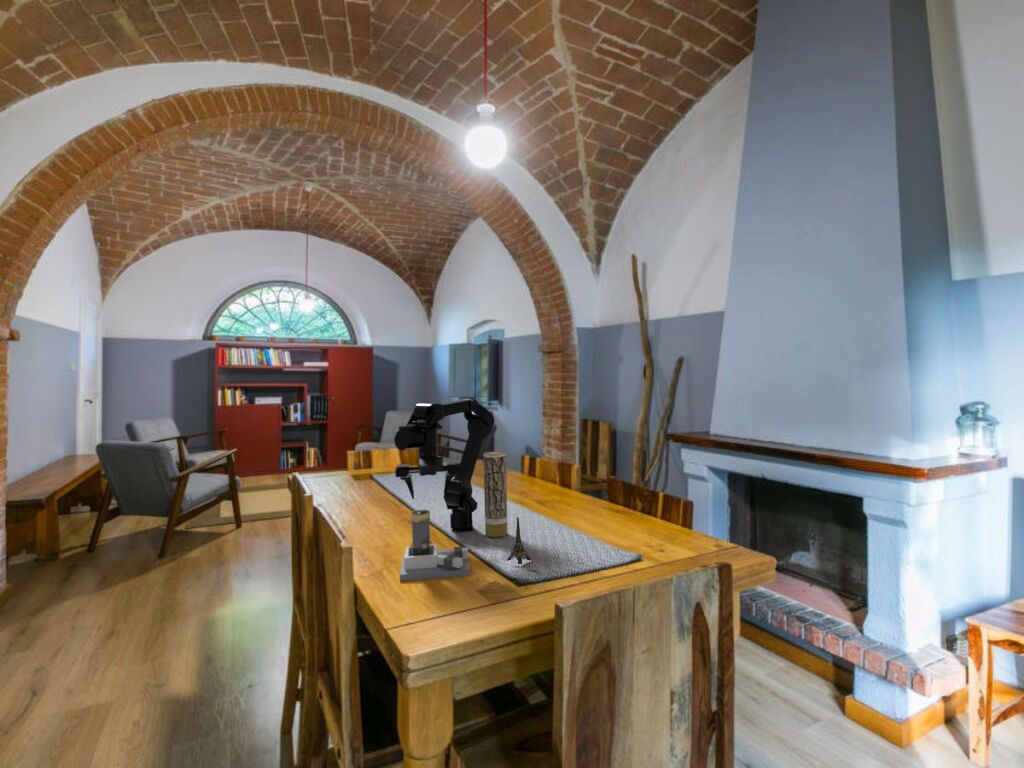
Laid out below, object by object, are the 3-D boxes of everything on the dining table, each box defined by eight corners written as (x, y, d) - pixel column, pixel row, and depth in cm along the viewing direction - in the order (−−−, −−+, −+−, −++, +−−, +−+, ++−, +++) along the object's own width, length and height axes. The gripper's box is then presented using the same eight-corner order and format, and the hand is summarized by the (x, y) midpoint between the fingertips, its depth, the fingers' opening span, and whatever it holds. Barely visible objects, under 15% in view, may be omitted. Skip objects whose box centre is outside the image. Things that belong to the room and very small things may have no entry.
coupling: (428, 557, 135) (426, 508, 134) (434, 563, 130) (433, 513, 130) (409, 560, 132) (407, 511, 132) (414, 567, 128) (413, 516, 127)
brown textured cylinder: (504, 538, 152) (503, 455, 151) (482, 537, 153) (480, 455, 153) (509, 531, 159) (507, 451, 158) (488, 530, 160) (486, 451, 159)
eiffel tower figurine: (496, 554, 142) (495, 506, 141) (532, 552, 142) (531, 504, 142) (499, 576, 127) (498, 523, 126) (539, 573, 127) (538, 521, 127)
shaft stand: (466, 554, 140) (466, 538, 140) (470, 576, 125) (469, 558, 125) (403, 559, 137) (403, 543, 137) (399, 582, 123) (399, 563, 123)
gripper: (393, 451, 141) (394, 507, 141) (460, 448, 144) (462, 503, 144) (396, 445, 152) (397, 497, 152) (459, 442, 155) (460, 493, 155)
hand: (429, 498), depth 151 cm, fingers open, 9 cm apart
